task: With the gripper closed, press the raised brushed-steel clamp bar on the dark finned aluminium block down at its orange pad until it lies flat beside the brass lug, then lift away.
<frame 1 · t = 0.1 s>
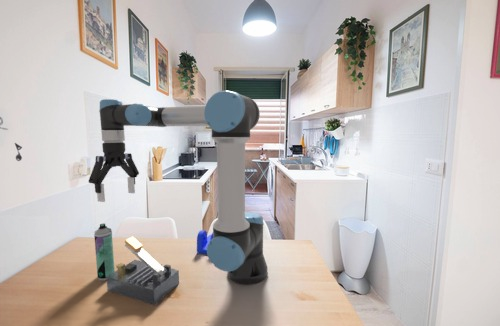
hand: (117, 197, 96), 28 cm above the table, fingers open, 13 cm apart
finned block: (144, 287, 85), on the table
clamp bar: (145, 256, 83), point 11 cm above the table, hinge at 30.0°
bracket: (213, 245, 117), on the table
spray can: (106, 276, 92), on the table
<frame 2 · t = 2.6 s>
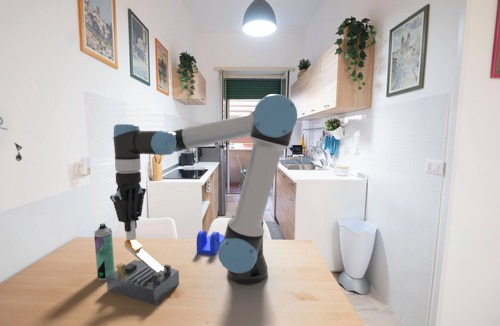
hand: (131, 239, 85), 17 cm above the table, fingers closed
clamp bar: (145, 257, 83), point 11 cm above the table, hinge at 28.2°, touching gripper
everything else where it was.
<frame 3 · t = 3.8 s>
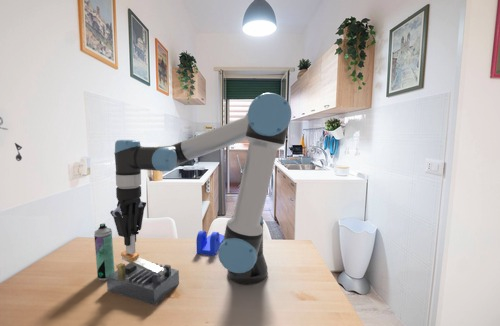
hand: (130, 252, 85), 12 cm above the table, fingers closed
clamp bar: (143, 263, 84), point 9 cm above the table, hinge at 10.3°, touching gripper
everything else where it was.
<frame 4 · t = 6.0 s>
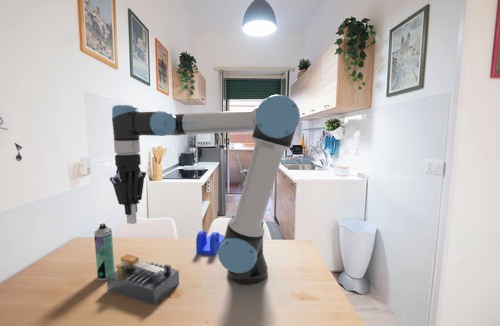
hand: (131, 222, 84), 22 cm above the table, fingers closed
clamp bar: (143, 265, 84), point 8 cm above the table, hinge at 3.9°
everything else where it was.
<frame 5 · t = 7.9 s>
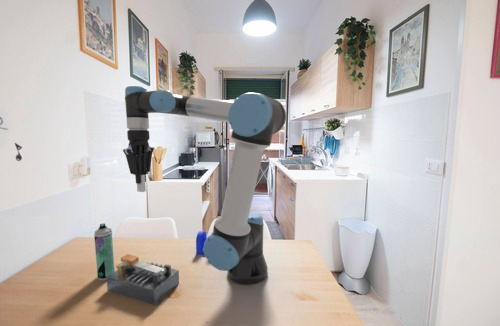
hand: (141, 191, 95), 30 cm above the table, fingers closed
nothing on the table moved.
at the end: clamp bar at +4° (first picture: +30°); clamp bar touching nothing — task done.
